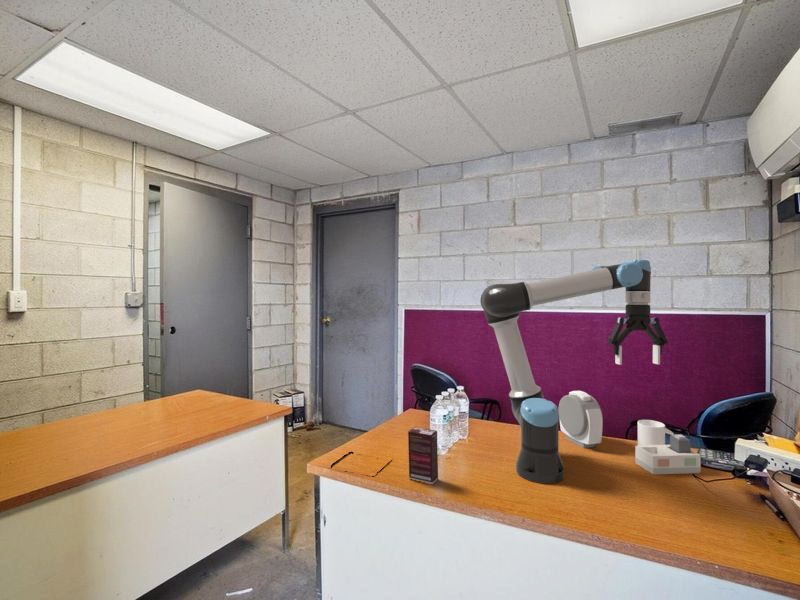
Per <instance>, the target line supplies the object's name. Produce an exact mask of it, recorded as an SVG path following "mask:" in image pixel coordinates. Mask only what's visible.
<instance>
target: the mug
mask: <svg viewBox="0 0 800 600" xmlns="http://www.w3.org/2000/svg"><path fill="white" fill-rule="evenodd" d="M666 434H668V435H670V436H675V435H676V434H675V433H674V432H673V431H671V430H670V429H668V428H667V427H666V424H664V423H663V422H660V421H657V420H652V419H639V420H637V445H666Z"/></svg>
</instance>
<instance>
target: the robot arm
mask: <svg viewBox="0 0 800 600" xmlns="http://www.w3.org/2000/svg"><path fill="white" fill-rule="evenodd" d="M651 268H652V267H651V262H650V260H648V259H630V260H627V261H626V262H623V263H620V264H613V265H598V266H593V267H591V268H590V270H587V271H586V270H585V271H581V272H577V273H573V274H572V273H571V274H567V275H563V276H557V277H553V278H549V279H545V280H540V281H535V282H530V283H529V282H528V283H527V282H526V281H521V282H515V283H494V284H491V285H489V286H487V287H486V288H485V289H484V290H483V291H482V293H481V295H480V299H479V300H480V307H481V308H482V310H483V311H484V315H485V318H486V321H487V325H489V326H491V327H492V328H493V330H494V334H495V338H496V340H497V341H496V342H497V343H498V348H499V351H500V354H501V358H502V361H503V365H504V368H505V371H506V375H507V377H508V381H509V385H510V389H511V390H510V391H509V393H508V397H509V400H510V402H511V411H512V413H513V416H514V418H515V419H516V420H517V422H518V424H519V426H520V430H521V431H520V433H521V434H520V437H521V438H520V439H521V448H520V451H519V453H518V457H517V459H516V464H515V466H516V467H515V470H516V473H517V474H518V475H519V476H520V477H521V476H522V477H521V478H523V479H525V480H528V481H531V482H534V483H540V484H556V483H560V482H562V481H563V480H564V479H565V477H566V476H565V467H564V464H563V461H562V457H561V455H560V452H559V420H560V418H559V411H558V408H559V407H558V406H557V405H556V404H555V403H554V402H553V401H551V400H547V399H545V397H544V395H543V391H542V388H541V386H539V385H537V384H536V381H535V379H534V375H533V373H532V369H531V366H530V362H529V359H528V355H527V351H526V349H525V345H524V342H523V339H522V335H521V332H520V328H519V325H518V320H519V317H520V314H519V313H522V312H525V311H530V310H531V309H532V308H533V307H535V306H538V305H544V304H548V303H553V302H557V301H563V300H567V299H573V298H576V297H582V296H587V295H591V294H597V293H602V292H606V291H611V290H616V289H621V288H625V303H626V305H625V318H624V317H617V318H616V323H615V325H614V327H613V329H612V331H611V334H610V336H609V337H608V339H607V343H608V344H609V345H610V344H611V345H612V346H613V347H612V348H613V349H612V353H613V355H615V356H614V357H615V358H614V360H615V361H614V362H615V364H616V365H619V366H621V365H623V362H622V361H623V346H622V345H621V344H622V343H623V342H624V341H625V339H626V338H627V337H628V336H629V335H630V334H631V332H633V331H644V332H645V334H647V336H648V337H649V338H650V339H651V341H652V342H653V343H654V344H652V364H655V365H661V355H662V354H663V347H664V346H665V345H667V344H669V340H668V339H667V337H666V335H665V333H664V330H663V328H662V326H661V324H660V318H659V317H655V316H652V317H650V315H651V305H650V303H651V276H652V275H651V274H652V270H651ZM625 324H626V325H625ZM650 324H651V326H650ZM624 325H625V326H624ZM623 326H624V327H623ZM652 328H653V329H652Z"/></svg>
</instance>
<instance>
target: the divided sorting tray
mask: <svg viewBox="0 0 800 600" xmlns="http://www.w3.org/2000/svg"><path fill="white" fill-rule="evenodd" d="M634 448H635V452H634V453H635V455H634V456H635V457H634V458H635V461H634V462H635V464H636V465H638V466H639V467H641V468H642V469H644V470H646V471H648V472H649V473H650V474H651V475H675V474H676V475H677V474H678V475H680V474H683V475H684V474H701V471H702V470H701V466H702V465H701V462H702V461H701V460H702V458H701V454H700V453H698V452H695V451H694V450H692V449H691V453H677V452H675V451H673V450H671V449H670V444H665V445H638V444H637V445H635V447H634Z"/></svg>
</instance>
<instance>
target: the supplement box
mask: <svg viewBox="0 0 800 600" xmlns="http://www.w3.org/2000/svg"><path fill="white" fill-rule="evenodd" d="M407 433H408V434H407V437H408V440H407V441H408V442H407V443H408V477H409V478H411V479H415V480H419V481H423V482H427V483H430V484H429V485H431V484H433V483H434V482H435V481H436V480H437V479H438V480H439V463H438V462H439V459H438V458H439V457H438V456H439V454H438V453H439V451H438V430H434V429H427V428H421V427H415V426H414V427H412V428H411V429H409V430H408V431H407ZM438 480H437V481H438ZM437 481H436V482H437ZM423 482H422V483H423ZM436 482H435V483H436ZM427 483H426V484H427ZM435 483H434V484H435ZM434 484H433V485H434Z"/></svg>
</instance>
